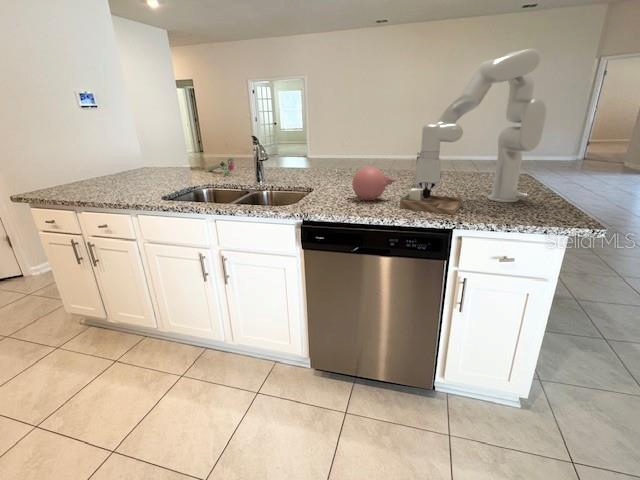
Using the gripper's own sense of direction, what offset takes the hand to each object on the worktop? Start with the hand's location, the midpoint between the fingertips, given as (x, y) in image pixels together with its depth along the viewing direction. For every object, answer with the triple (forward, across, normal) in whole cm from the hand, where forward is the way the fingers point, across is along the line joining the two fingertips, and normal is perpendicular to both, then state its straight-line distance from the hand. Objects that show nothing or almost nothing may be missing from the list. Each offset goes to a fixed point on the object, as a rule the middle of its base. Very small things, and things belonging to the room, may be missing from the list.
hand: (426, 197), depth 148 cm
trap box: (+3, +3, -3) cm, 5 cm away
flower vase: (+2, -148, +22) cm, 150 cm away
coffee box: (+3, -11, +34) cm, 36 cm away
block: (+1, -5, +1) cm, 5 cm away
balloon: (+3, -24, -3) cm, 24 cm away
